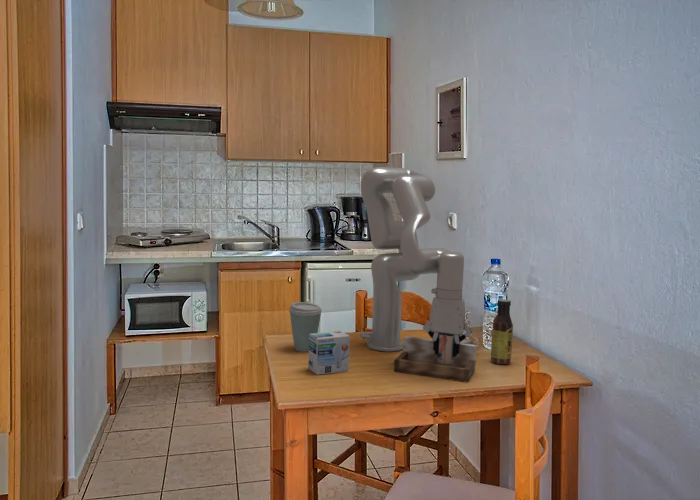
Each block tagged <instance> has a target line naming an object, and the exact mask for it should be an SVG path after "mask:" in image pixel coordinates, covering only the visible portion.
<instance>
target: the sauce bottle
mask: <svg viewBox="0 0 700 500" xmlns="http://www.w3.org/2000/svg"><path fill="white" fill-rule="evenodd" d="M511 301H512V300H511V299H503V298H501V299H497V301H496V302H497V311H496V313H497V314H496V315H495V317H494V319H493V320H492V331H491V345H490V346H491V348H490V350H491V351H490V356H491V358H490V361H491V362H492V363H494V364H497V365H508V364H510V363H511V360H512V351H513V349H512V347H513V334H514V333H513V332H514V331H513V330H514V323H513V321H512V318H511V313H510V312H511V311H510V310H511V308H510V307H511V305H512V304H511V303H512V302H511Z"/></svg>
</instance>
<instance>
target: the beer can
mask: <svg viewBox="0 0 700 500" xmlns="http://www.w3.org/2000/svg"><path fill="white" fill-rule="evenodd" d="M454 343H455V338H454V334H448V333H439V338H438V358H437V362H438V363H439V364H441V365H446V366H449V365H451V364H453V363H454V356H453V345H454Z"/></svg>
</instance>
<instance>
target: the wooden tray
mask: <svg viewBox="0 0 700 500" xmlns="http://www.w3.org/2000/svg"><path fill="white" fill-rule="evenodd" d="M403 343H404V345H403V349H402V352H401V353H400V354H398V356H396V358H395V359H394V361H393V363H394V365H393V372H394V373H395V372H398V373H403V374H409V375H410V374H411V375H417V376H423V377H424V376H425V377H430V378H439V379H444V380H450V379H453V380H452V381H457V380H461V381H460V382H464V381H469V382H470V380H471V378H472V377H471V376H473V375H474V373H475V372H474V371H476V355H477V345H476V344H475V345H471V344H463V343H460V348H459V354H457V356H456V357H454V363H453V364H451V365H449V366H446V365H441V364H439V363H438V362H437V358H438V354H437V355H436V354H435V351H433V344H434V341H433V340H432V338H431V339H430V338H423V337H417V336H416V337H415V336H407V335H404V336H403ZM472 374H473V375H472Z"/></svg>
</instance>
